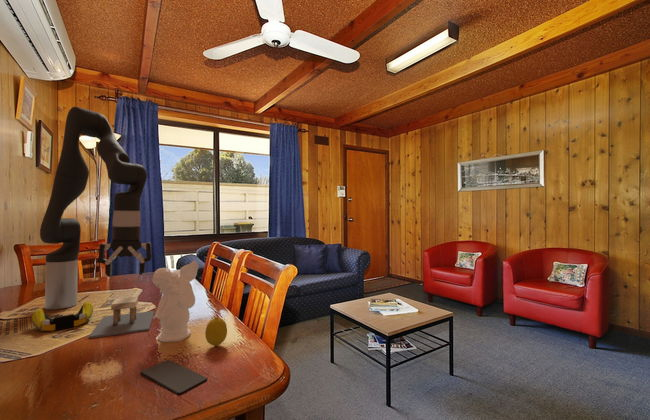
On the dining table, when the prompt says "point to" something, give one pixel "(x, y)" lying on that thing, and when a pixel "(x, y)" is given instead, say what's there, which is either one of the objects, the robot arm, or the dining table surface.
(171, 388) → the smartphone
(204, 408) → the dining table surface
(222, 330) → the lemon
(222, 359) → the dining table surface
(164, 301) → the cherub figurine
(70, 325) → the gaming controller
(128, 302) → the stool
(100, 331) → the mat
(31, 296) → the dining table surface
